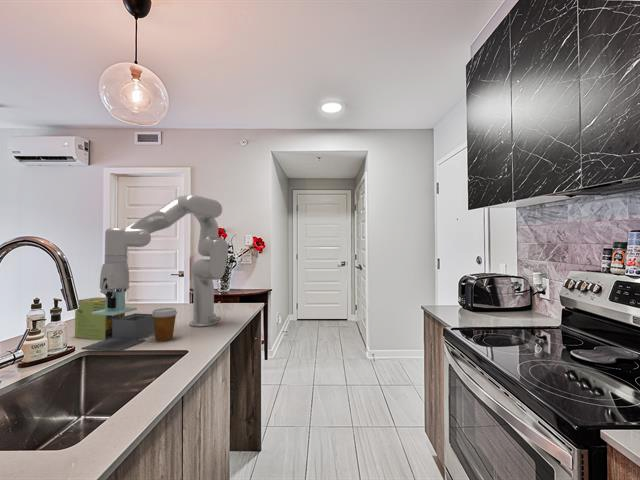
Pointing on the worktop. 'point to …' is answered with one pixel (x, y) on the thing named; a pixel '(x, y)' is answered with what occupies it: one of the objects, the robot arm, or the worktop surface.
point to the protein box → (93, 320)
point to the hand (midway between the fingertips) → (115, 306)
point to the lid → (119, 306)
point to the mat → (114, 344)
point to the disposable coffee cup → (164, 323)
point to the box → (133, 326)
